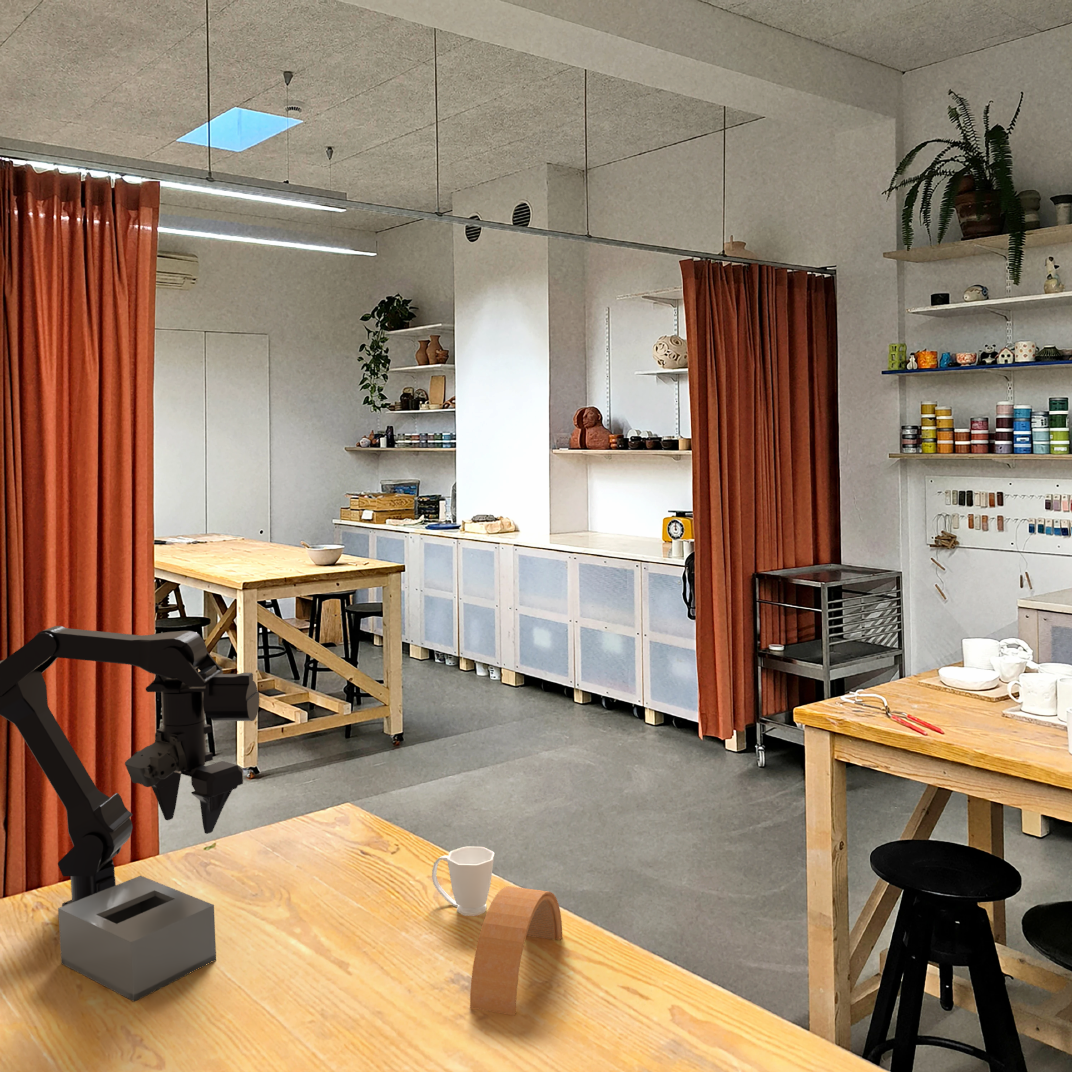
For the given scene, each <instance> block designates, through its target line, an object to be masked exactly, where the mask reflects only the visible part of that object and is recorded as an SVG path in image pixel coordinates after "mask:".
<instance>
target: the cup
mask: <svg viewBox="0 0 1072 1072" xmlns="http://www.w3.org/2000/svg"><path fill="white" fill-rule="evenodd" d="M441 860H442V861H445V862H447V867H448V872H449V873H448V874H449V877H450V883H451V890H452V894H453V897H451V896H450V895H449V894H448V893H447V892H446V891H445V889H443V887H442V886H441V885H440V883H439V880H438V877H437V870H438V866H439V863H440V862H441ZM494 861H495V852H494V851H493V850H491V849H489V848H486V847H484V846H469V845H468V846H462V847H460V848H459V847H458V848H457V849H453V850H450V851H449V853H448V855H442V856H440V857H438V858H437V859H436V860H435V862H434V863H433V867H432V869H431V870H432V871H431V880H432V883H433V885H434V887H435V889H436V890H437V892H438V893H439V894H440V895H441V896H442V898H444V899H445V900H446V901H447V902H448V903H449V904H451V905H452V906H453V907H456V912H457V913H459V914H460V915H462V916H464V917H465V916H466V917H468V916H469V917H476V916H479V915H483V914H485V913H486V912H487V902H488V896H489V893H490V888H491V884H492V875H493V868H494ZM453 898H454V899H453Z"/></svg>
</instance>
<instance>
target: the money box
mask: <svg viewBox="0 0 1072 1072" xmlns="http://www.w3.org/2000/svg"><path fill="white" fill-rule="evenodd" d="M57 911H58V928H59V929H58V930H59V931H58V932H59V944H60V945H59V946H60V963H61V964H62V965H64V966H66V967H67V968H68V969H69V968H70V970H72V971H75V972H77V973H78V974H81V975H82V976H84V977H86V978H88V979H90V980H91V981H94V982H96V983H97V984H100V985H101V986H103V987H105V988H107V989H110V990H111V991H113V992H115V993H117V994H119V995H121V996H122V997H124V998H126V999H128V1000H129V1001H133V1002H136V1001H138V1000H140V999H142V998H143V997H146V996H148V995H150V994H152V993H153V992H156V991H159V990H160V989H162V988H163V987H165V986H168V985H170V984H171V983H174V982H175V981H178V980H179V979H180V980H181V979H182V978H184V977H185V975H186V976H187V974H188V975H189V973H190V972H192V971H194V970H196V969H197V970H199V969H201V968H203V967H205V966H207V965H209V964H211V963H212V962H211V961H213V962H215V961H217V949H216V947H217V944H216V925H215V924H216V921H215V905H214V904H212V903H210V902H208V901H205V900H203V899H200V898H198V897H195V896H193V895H190V894H188V893H185V892H183V891H180V890H177V889H175V888H173V887H170V886H168V885H165V884H163V883H160V882H158V881H156V880H152V878H151V879H150V878H147V877H146V876H142V875H139V876H136V877H133V878H130V879H128V880H126V881H123V882H121V883H118V884H116V885H115V886H113V887H110V888H108V889H105V890H103V891H100V892H98V893H95V894H93V895H90V896H88V897H85V898H83V899H80V900H78V901H75V902H73V903H70V904H67V905H65V906H62V905H61V906H60V907H58V909H57ZM214 960H215V961H214ZM210 962H211V963H210ZM208 963H209V964H208ZM206 964H207V965H206ZM202 966H203V967H202ZM200 967H201V968H200ZM198 968H199V969H198ZM197 970H196V971H197ZM194 972H195V971H194ZM192 973H193V972H192ZM190 974H191V973H190ZM181 977H182V978H181Z"/></svg>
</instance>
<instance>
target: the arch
mask: <svg viewBox="0 0 1072 1072" xmlns="http://www.w3.org/2000/svg"><path fill="white" fill-rule="evenodd" d="M562 924H563V922H562V914H561V909H560V905H559V902H558V899H557V896H556V895H555V894H554V893H553V892H551V891H547V890H539V889H532V888H527V887H526V888H525V887H517V886H504V887H502V888H501V889H500V890H499V891H498V892H497V893H496V895H495V896H494V898H493V899H492V901H491V903H490V905H489V907H488V910H486V914H485V917H484V920H483V922H482V925H481V929H480V932H479V936H478V940H477V944H476V949H475V952H474V959H473V964H472V972H471V978H470V979H471V982H470V995H469V996H470V997H469V998H470V999H469V1008H470V1009H476V1010H481V1011H486V1012H493V1013H499V1014H504V1015H509V1016H516V1013H517V997H518V996H517V995H518V994H517V993H518V982H519V975H520V974H519V973H520V967H521V961H522V955H523V951H524V946H525V942H526V938H527V937H535V938H540V939H547V940H548V939H549V940H557V941H561V938H562V939H563V925H562Z"/></svg>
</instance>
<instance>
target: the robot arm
mask: <svg viewBox="0 0 1072 1072" xmlns="http://www.w3.org/2000/svg"><path fill="white" fill-rule="evenodd" d="M58 658H59V659H67V660H68V659H71V660H79V661H89V662H98V663H99V662H100V663H111V664H118V665H119V664H120V665H130V666H134V667H137V668H140V669H141V670H144V672H147V673H150V674H152V675H156V676H155V678H154V680H152V682H151V683H150V684H149V685H148V686H146V687H145V692H147V693H161V694H160V695H161V712H162V713H161V714H162V715H161V717H162V728H158V729H156V732H155V733H154V738H155V739H154V742H153V743H151V744H149V745H147V746H146V747H144V748H142V749H141V750H137V751H135V752H134V754H133V755H132V756H130V758H128V759H127V760H126V761H124V765H125V767H126V770H127V772H128V775H129V777H130V779H131V782H132V783H133V784H139V785H142V786H143V787H145V788H150V787H151V790H152V791H153V793H154V795H155V797H156V798H155V799H156V800H157V803H158V805H159V807H160V810H161V813H162V816H163V818H164V820H165V821H171V820H173V818H174V816H175V815H174V814H175V811H176V806H177V800H178V795H179V794H178V793H179V787H180V784H181V783H180V782H181V778H182V775H183V776H187V777H190V778H191V779H190V780H191V781H190V783H191V786H192V788H193V789H194V791H192V792H191V794H192V795H193V796H194V797H195V798H196V799H197V800H198V801H199V804H200V806H199V807H200V812H201V820H202V825H203V832H204V834H205V835H207V834H208V835H209V834H211V833H212V832H213V831H214V830H215V827H216V825H217V824H218V823H217V822H218V820H219V818H220V815H221V814H222V811H223V809H224V807H225V804H226V802H227V801H228V799H229V797H230V796H231V794H232V791H233V790H236V789H238V786H241V785H243V784H244V770H243V768H242V767H241V766H240V765H238V764H235V763H231V762H228V761H225V760H221V761H218V762H214V763H211V764H208V765H206V763H208V762H210V761H213V760H214V759H213V758H214V757H213V756H214V755H213V754H214V753H213V752H209V751H207V745H206V744H207V743H206V741H207V740H206V734H207V735H208V734H210V733H212V732H213V731H212V724H211V725H210V724H208V723H206V719H205V717H206V718H210V719H211V721H213V722H253V721H255V720H256V718H257V716H258V712H259V707H260V692H259V691H258V687H257V684H256V682H255V681H254V674H253V672H241V673H224V670H223V669H222V668H221V666H220V664H218V663H217V661H216V660H215V659H214V657H212V655H211V654H210V653H209V652H208V650H207V644H206V642H205V640H204V639H203V637H201V634H199V633H197V632H195V631H193V630H180V631H167V632H160V633H153V634H143V635H141V634H140V635H138V634H129V633H119V632H110V631H97V630H89V629H88V630H87V629H77V628H67V627H64V626H62V625H54V626H51V627H48V628H46V629H44V630H41V631H39V632H37V633H36V634H35V636H33V637H32V639H30V640H29V641H28V642H27V643H26V644H24V645H22V646H21V647H20V648H18V649H17V650H16V651H14V652H13V653H11V654H10V655H8V656H7V657H6V658H5V659H3V660H0V716H1V717H2V718H4V719H5V720H8V721H9V722H10V723H12V724H13V725H14V726H15V727H16V728H17V730H18V732H19V733H20V735H21V737H22V738H23V740H24V741H25V743H26V745H27V747H28V749H29V750H30V751H31V753H32V755H33V757H34V758H35V760H36V762H37V764H38V765H39V767H40V768H41V770H42V772H43V773H44V775H45V776H46V778H47V780H48V781H49V783H50V785H51V787H52V788H53V790H54V791H55V793H56V795H57V796H58V798H59V800H60V801H61V803H62V805H63V806H64V808H65V811H66V821H67V833H68V835H69V837H70V841H71V842H72V846H73V847H72V848H71V849H70V850H69V851H68V852H67V853H66V854H64V856H63V857H62V858H61V859H60V860H58V862H57V867H58V868H59V870H60V873H61V875H62V876H63V877H70V887H71V889H70V893H71V899H70V900H68V901H67V900H66V901H64V902H63V903H61V907H62V906H65V905H67V904H70V903H73V902H75V901H78V900H80V899H83V898H85V897H88V896H90V895H93V894H95V893H98V892H100V891H103V890H105V889H108V888H110V887H113V886H115V885H117V883H116V876H115V875H116V874H115V864H114V860H113V858H114V857H115V856H116V855H119V854H120V852H121V850H122V847H123V845H124V844H126V843H127V842H128V841H129V838H130V837H131V835H132V831H133V828H134V827H133V822H132V819H131V817H132V816H133V813H132V812H131V811H130V810H129V809H128V808H127V807H126V806H125V804H124V801H123V799H122V796H121V795H120V794H119V793H118V792H115V793H114V794H112V796H111V797H110V796H108V795H107V794H105V793H104V792H102V791H100V790H99V789H98V788H97V785H96V784H95V782H94V780H93V779H92V777H91V776H90V774H89V772H88V771H87V770H86V767H85V766H84V764H83V762H82V761H81V759H80V758H79V756H78V755H77V753H76V751H75V750H74V748H73V746H72V745H71V742H70V741H69V740H68V739H69V738H67V736H66V734H65V733H64V731H63V729H62V728H61V726H60V724H59V723H58V721H57V719H56V717H55V716H54V715H53V713H52V710H50V707H49V705H48V690H47V685H46V681H45V679H44V676H43V673H44V672H45V671H46V670H48V668H50V667H51V666H52V665H53V664H54V663H55V662H56V660H58ZM205 715H206V716H205Z"/></svg>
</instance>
